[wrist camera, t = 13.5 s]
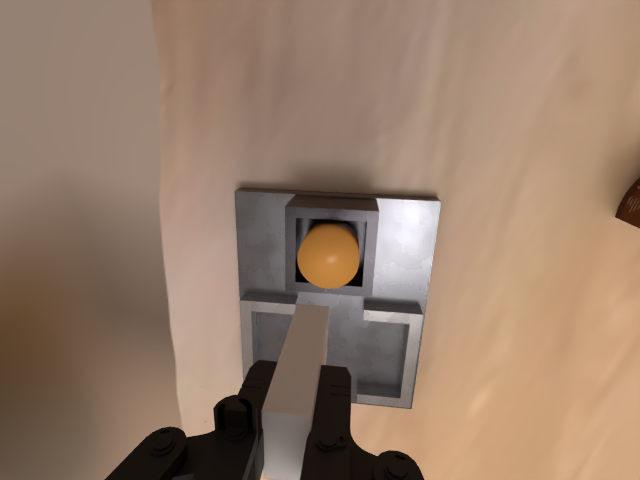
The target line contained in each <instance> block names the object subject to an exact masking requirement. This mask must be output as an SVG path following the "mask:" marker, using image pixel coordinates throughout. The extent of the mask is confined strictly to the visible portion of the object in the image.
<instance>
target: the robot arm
mask: <svg viewBox="0 0 640 480" xmlns="http://www.w3.org/2000/svg"><path fill="white" fill-rule="evenodd" d="M328 317H329V306H319V305H306V304H297V306H296V309H295V312H294V315H293V318H292V321H291V324H290V327H289V330H288V333H287V336H286V339H285V342H284V345H283V348H282V351H281V354H280V357H279V360H278V362H277V361H266V360H258V361H257V362H256V363H254V364H253V365H252V366H251V367H250V368H249V371H248V373H247V375H246V377H245V380H244V382H243V384H242V388H241V389H240V391H239V393H238V395H232V396H229V397H226V398H224V399H222V400H221V401H219V402H218V403H217V404H216V406H215V407H214V408H213V409H214V421H215V430H214V431H212V432H210V433H207V434H203V435H198V436H192V437H186V435H185V433H184V431H182V430H181V429H179V428H176V427H166V428H161V429H159V430H157V431H155V432H152V433H151V434H150V435H149V436H147V437H146V438H145V439H144V440H143V441H142V442H141V443H140V444H139V445H138V446H137V447H136V448H135V449H134V450H133V451H132V452H131V453H130V454H129V455H128V456H127V457H126V458H125V459H124V460H123V461H122V462H121V463H120V465H119V466H118V467H117V468H116V469H115V470H114V471H113V472H112V473H111V474H110V475H109V476H108V477H107V478H106V479H105V480H260V477H261V474H262V470H263V478H269V479H277V480H424V478H423V475H422V473H421V471H420V469H419V467H418V465H417V464H416V462H415V461H414V460H413V459H412V458H410V457H409V456H408V455H407V454H404V453H402V452H399V451H390V450H389V451H386V452H383V453H381V454H380V455H379V456H375V455H373V454H370V453H368V452H366V451H365V450H363V449H361V448H360V447H359V446H358V445H357V444H356V443H355V442H354V440H353V438H352V436H351V432H350V413H351V378H352V377H351V375H350V373H349V371H348V369H347V367H340V366H329V365H326V358H327V340H328Z"/></svg>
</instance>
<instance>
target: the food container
mask: <svg viewBox="0 0 640 480" xmlns="http://www.w3.org/2000/svg"><path fill="white" fill-rule="evenodd" d="M615 217H616V218H618V219H620V220H622V221H625V222H627V223H629V224H631V225H633V226H636V227H638V228H640V178H639V179H638V180H637V181H636V182H635V183H634V184H633V185H632V186H631V188H630V189H629V190H628V191H627V193H626V194H625V196H624V197H623V199H622V201H621V203H620V205H619V207H618V210H617V213H616V216H615Z"/></svg>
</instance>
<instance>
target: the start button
mask: <svg viewBox="0 0 640 480" xmlns="http://www.w3.org/2000/svg"><path fill="white" fill-rule="evenodd" d="M297 259H298V266H299V269H300V271H301V273H302V275H303V276H304V277H305V278H306V279H307V280H308V281H309V282H310V283H312V284H313V285H315V286H318V287H321V288H327V289H332V288H338V287H341V286H343V285H345V284H347V283H348V282H349V281H351V280H352V279H353V277H354V276H355V274H356V273H357V270H358V267H359V240H358V237H357V235H356V233H355V232H354V230H353V229H352V228H351V227H350V226H349V225H347V224H346V223H344V222H341V221H338V220H323V221H320V222H318V223H316V224H314V225H313V226H312V227H311V228H310V229H309V230H308V232H307V234H306V236H305V238H304V240H303V242H302V244H301V246H300V249H299V251H298V258H297Z"/></svg>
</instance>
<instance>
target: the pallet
mask: <svg viewBox="0 0 640 480" xmlns="http://www.w3.org/2000/svg"><path fill="white" fill-rule="evenodd" d="M440 205H441V201H440V200H439V199H438V198H433V197H413V196H393V195H373V194H353V193H333V192H313V191H293V190H273V189H253V188H239V189H237V190H236V191H235V207H236V228H237V249H238V270H239V290H240V316H241V337H242V358H243V378H244V380H245V377H246V375H247V373H248V371H249V368H250V367H251V366H252V365H253V364H254V363H256V362H257V361H258V360H266V361H277V362H278V360H279V357H280V354H281V351H282V348H283V345H284V342H285V339H286V336H287V333H288V330H289V327H290V324H291V321H292V318H293V315H294V312H295V309H296V306H297V304H306V305H319V306H329V317H328V340H327V358H326V365H329V366H340V367H347V369H348V371H349V373H350V375H351V377H352V378H351V403H357V404H367V405H377V406H386V407H396V408H406V409H412V402H413V395H414V388H415V381H416V373H417V366H418V359H419V352H420V345H421V338H422V331H423V324H424V317H425V310H426V303H427V296H428V289H429V282H430V275H431V268H432V261H433V254H434V247H435V240H436V233H437V226H438V219H439V212H440ZM323 220H338V221H341V222H344V223H346V224H347V225H349V226H350V227H351V228H352V229H353V230H354V232H355V233H356V235H357V237H358V240H359V267H358V270H357V273H356V274H355V276H354V277H353V279H352V280H351V281H349V282H348V283H347V284H345V285H343V286H341V287H338V288H332V289H327V288H321V287H318V286H315V285H313V284H312V283H310V282H309V281H308V280H307V279H306V278H305V277H304V276H303V275H302V273H301V271H300V269H299V266H298V259H297V258H298V251H299V249H300V246H301V244H302V242H303V240H304V238H305V236H306V234H307V232H308V230H309V229H310V228H311V227H312V226H313V225H314V224H316V223H318V222H320V221H323Z"/></svg>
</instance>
